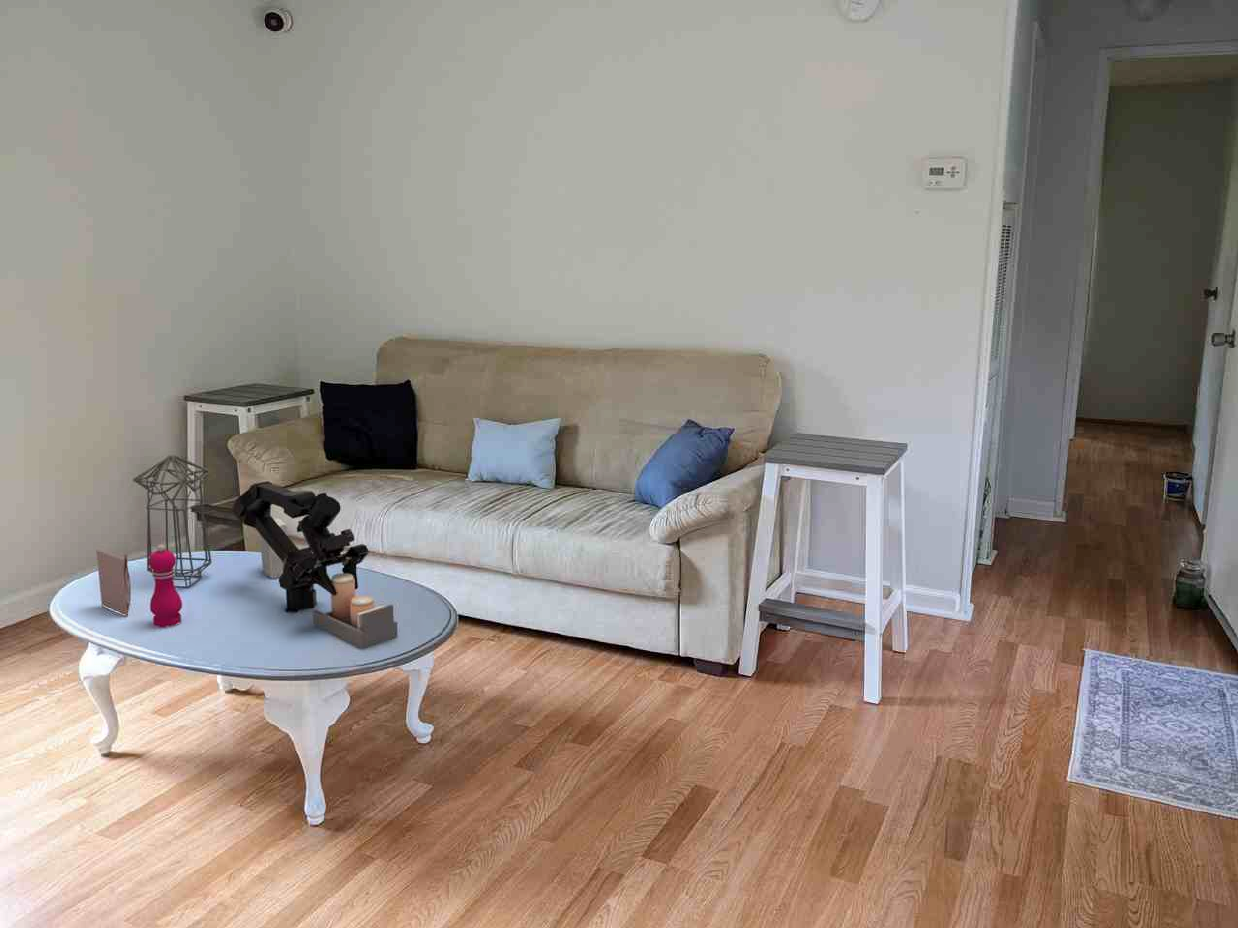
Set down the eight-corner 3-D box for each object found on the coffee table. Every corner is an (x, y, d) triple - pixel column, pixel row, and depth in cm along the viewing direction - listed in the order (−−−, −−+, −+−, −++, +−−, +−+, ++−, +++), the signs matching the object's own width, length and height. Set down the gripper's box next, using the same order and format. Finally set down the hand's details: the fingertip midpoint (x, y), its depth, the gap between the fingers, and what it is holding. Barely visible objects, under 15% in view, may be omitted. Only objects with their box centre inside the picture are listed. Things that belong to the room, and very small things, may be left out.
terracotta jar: (335, 621, 254) (333, 582, 251) (329, 613, 259) (327, 574, 256) (358, 617, 256) (357, 579, 254) (352, 609, 261) (351, 571, 259)
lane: (313, 628, 258) (311, 593, 256) (348, 617, 265) (347, 583, 263) (362, 651, 245) (360, 615, 243) (397, 639, 253) (396, 604, 251)
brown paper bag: (131, 616, 263) (126, 559, 259) (98, 619, 260) (92, 561, 257) (134, 600, 273) (129, 545, 270) (102, 603, 271) (97, 547, 267)
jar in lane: (348, 638, 250) (347, 603, 248) (354, 629, 256) (353, 594, 254) (372, 639, 250) (370, 603, 248) (377, 630, 256) (376, 595, 254)
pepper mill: (190, 619, 262) (183, 542, 257) (168, 630, 255) (162, 551, 250) (166, 615, 264) (159, 538, 259) (144, 625, 257) (137, 547, 253)
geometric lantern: (138, 590, 281) (126, 460, 273) (170, 571, 296) (160, 448, 288) (194, 593, 278) (183, 463, 271) (223, 574, 294) (215, 450, 286)
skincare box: (291, 576, 293) (288, 524, 290) (269, 579, 290) (266, 527, 287) (282, 567, 300) (279, 516, 297) (260, 570, 297) (257, 519, 293)
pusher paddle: (358, 641, 248) (357, 613, 247) (384, 632, 254) (383, 605, 252) (363, 644, 247) (362, 616, 245) (389, 635, 252) (389, 607, 251)
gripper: (296, 528, 247) (325, 585, 243) (363, 512, 261) (392, 566, 257) (279, 552, 254) (307, 607, 250) (346, 535, 268) (373, 588, 264)
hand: (346, 591), depth 255 cm, fingers closed on terracotta jar, 6 cm apart
